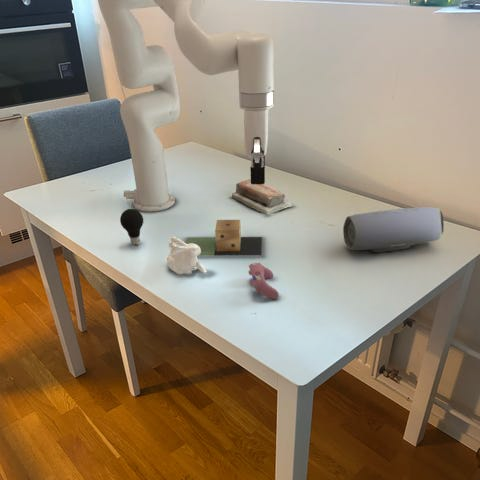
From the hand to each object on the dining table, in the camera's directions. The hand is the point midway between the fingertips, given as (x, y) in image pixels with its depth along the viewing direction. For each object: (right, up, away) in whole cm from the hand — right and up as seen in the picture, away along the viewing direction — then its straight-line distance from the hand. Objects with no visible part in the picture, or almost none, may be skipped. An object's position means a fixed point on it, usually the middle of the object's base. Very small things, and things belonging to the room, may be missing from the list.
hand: (258, 176), depth 119 cm
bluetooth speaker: (+34, -16, +9) cm, 38 cm away
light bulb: (-32, -14, +15) cm, 38 cm away
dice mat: (-9, -15, +11) cm, 21 cm away
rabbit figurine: (-18, -23, +2) cm, 29 cm away
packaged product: (+2, +2, +34) cm, 34 cm away
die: (-7, -15, +11) cm, 20 cm away
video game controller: (+1, -27, -5) cm, 28 cm away
